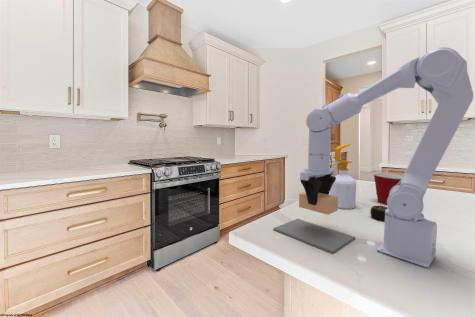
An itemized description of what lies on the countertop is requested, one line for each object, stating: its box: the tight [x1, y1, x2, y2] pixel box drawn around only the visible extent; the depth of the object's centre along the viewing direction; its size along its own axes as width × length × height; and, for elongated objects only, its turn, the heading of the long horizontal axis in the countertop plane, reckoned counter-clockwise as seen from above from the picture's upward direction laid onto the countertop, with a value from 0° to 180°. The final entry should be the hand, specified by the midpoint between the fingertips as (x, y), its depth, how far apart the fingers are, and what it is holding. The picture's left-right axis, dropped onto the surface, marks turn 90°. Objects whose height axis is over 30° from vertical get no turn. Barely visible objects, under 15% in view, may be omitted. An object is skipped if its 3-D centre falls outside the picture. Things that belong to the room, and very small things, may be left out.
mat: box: [272, 218, 356, 255], centre depth 62 cm, size 18×12×1 cm, turn 40°
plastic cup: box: [372, 172, 403, 205], centre depth 92 cm, size 11×11×12 cm
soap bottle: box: [329, 143, 357, 210], centre depth 88 cm, size 9×9×25 cm
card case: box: [298, 191, 339, 216], centre depth 63 cm, size 5×9×4 cm, turn 39°
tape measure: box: [369, 205, 388, 221], centre depth 75 cm, size 7×7×4 cm
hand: (317, 202), depth 63 cm, fingers closed on card case, 5 cm apart
